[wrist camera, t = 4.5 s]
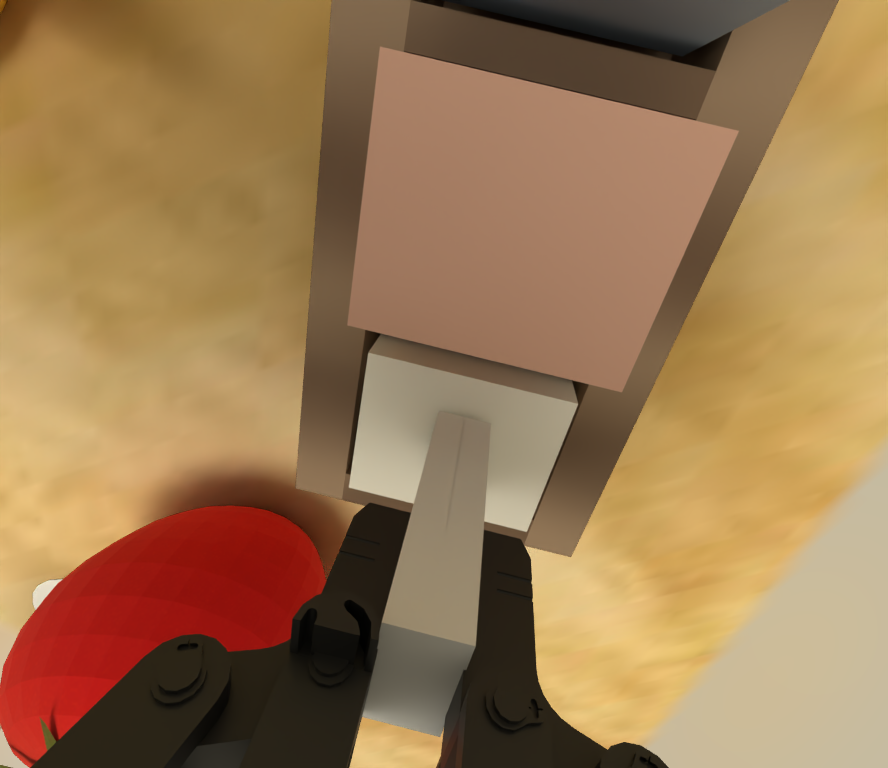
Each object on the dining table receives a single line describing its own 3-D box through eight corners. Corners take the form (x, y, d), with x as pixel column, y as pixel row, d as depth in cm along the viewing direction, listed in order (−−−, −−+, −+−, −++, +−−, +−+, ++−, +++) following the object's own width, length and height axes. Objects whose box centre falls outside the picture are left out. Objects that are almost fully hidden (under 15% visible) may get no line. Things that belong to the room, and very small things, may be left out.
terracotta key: (428, 83, 12) (380, 46, 7) (652, 137, 12) (739, 130, 7) (398, 269, 14) (347, 324, 10) (586, 314, 14) (622, 392, 10)
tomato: (415, 565, 25) (350, 855, 15) (270, 657, 30) (150, 916, 20) (225, 412, 22) (-23, 644, 12) (103, 545, 27) (-138, 783, 17)
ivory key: (405, 298, 17) (368, 352, 13) (560, 336, 17) (578, 404, 13) (385, 408, 19) (348, 487, 15) (522, 442, 19) (526, 531, 15)
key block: (429, -312, 11) (377, -613, 7) (840, -220, 11) (1062, -466, 7) (340, 416, 21) (295, 488, 17) (557, 470, 21) (570, 557, 16)
